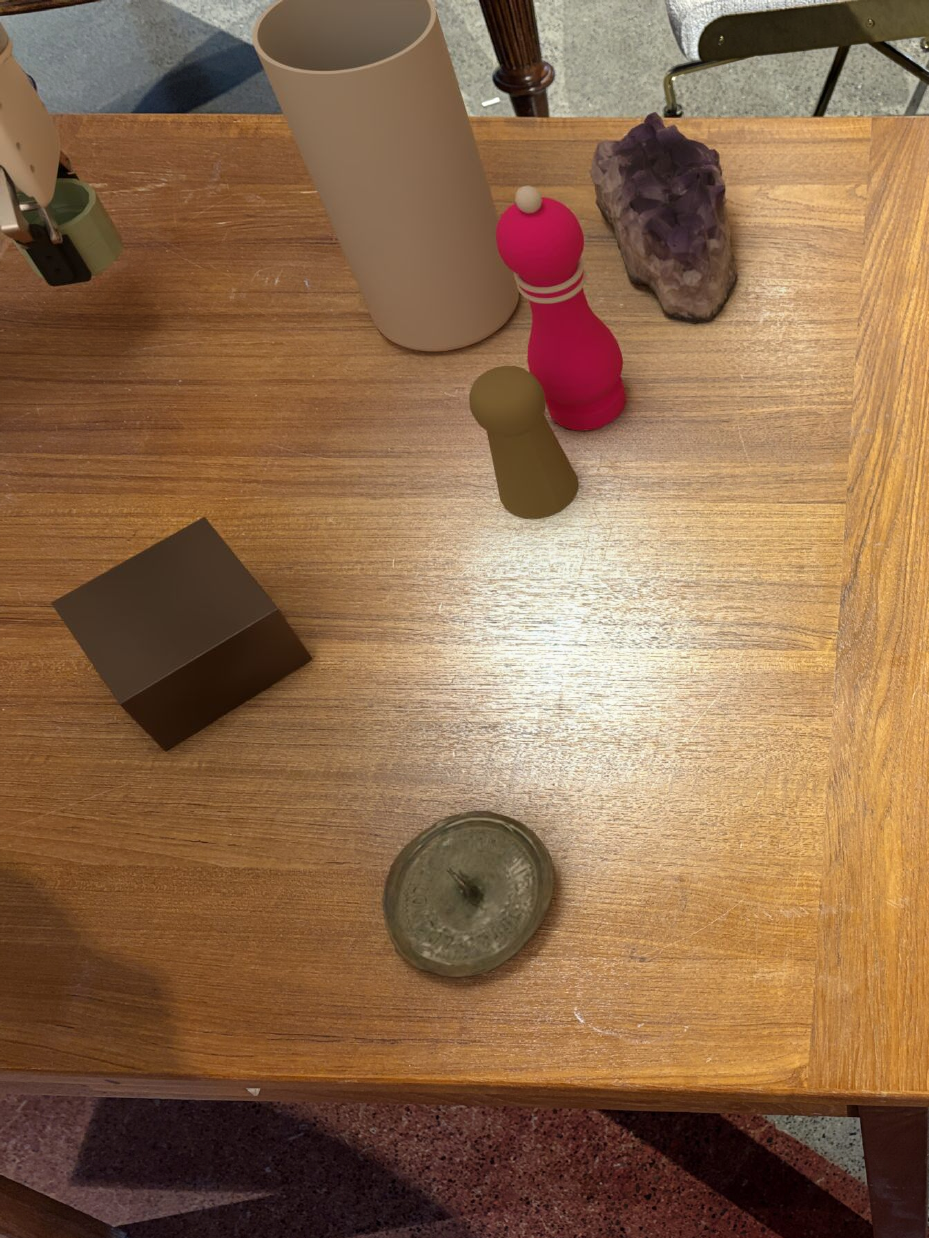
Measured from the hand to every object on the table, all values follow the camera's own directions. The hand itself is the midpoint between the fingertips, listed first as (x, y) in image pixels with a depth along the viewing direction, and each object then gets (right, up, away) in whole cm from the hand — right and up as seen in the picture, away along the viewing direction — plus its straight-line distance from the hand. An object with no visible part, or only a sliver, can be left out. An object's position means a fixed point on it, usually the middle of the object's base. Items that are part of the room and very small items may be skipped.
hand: (75, 249), depth 103 cm
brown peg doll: (+39, -20, -5) cm, 44 cm away
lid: (+40, -48, -24) cm, 67 cm away
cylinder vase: (+28, -3, +7) cm, 29 cm away
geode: (+47, +3, +11) cm, 48 cm away
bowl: (0, 0, +1) cm, 1 cm away
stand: (+18, -33, -13) cm, 40 cm away
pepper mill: (+41, -13, 0) cm, 43 cm away
